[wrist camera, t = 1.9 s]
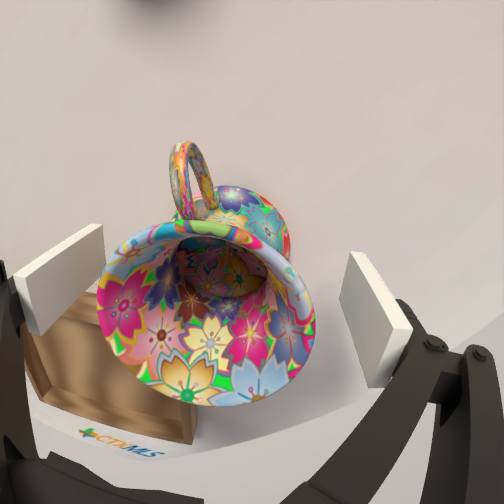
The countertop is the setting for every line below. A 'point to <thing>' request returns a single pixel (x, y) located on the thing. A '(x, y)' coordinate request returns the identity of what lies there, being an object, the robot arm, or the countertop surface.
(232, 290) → the mug
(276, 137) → the countertop surface
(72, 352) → the tray
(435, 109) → the countertop surface
